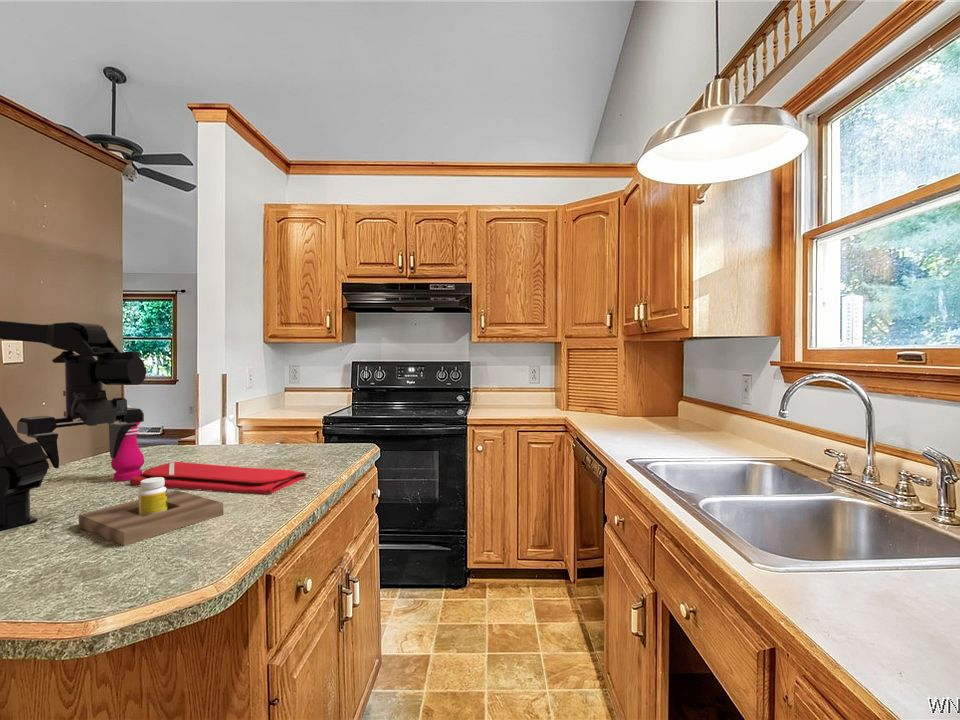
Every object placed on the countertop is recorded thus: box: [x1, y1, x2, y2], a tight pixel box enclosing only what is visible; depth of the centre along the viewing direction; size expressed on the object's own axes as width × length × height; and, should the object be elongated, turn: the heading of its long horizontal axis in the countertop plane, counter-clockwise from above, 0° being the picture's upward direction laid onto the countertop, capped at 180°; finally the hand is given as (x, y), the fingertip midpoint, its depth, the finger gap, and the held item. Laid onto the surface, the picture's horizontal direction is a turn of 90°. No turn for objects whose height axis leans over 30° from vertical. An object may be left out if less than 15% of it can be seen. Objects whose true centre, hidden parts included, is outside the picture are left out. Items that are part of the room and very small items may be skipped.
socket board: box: [78, 489, 224, 547], centre depth 94 cm, size 18×18×2 cm
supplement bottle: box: [137, 477, 168, 517], centre depth 94 cm, size 5×5×8 cm
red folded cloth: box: [129, 461, 307, 495], centre depth 122 cm, size 16×41×4 cm, turn 79°
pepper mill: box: [110, 404, 145, 482], centre depth 125 cm, size 7×7×20 cm
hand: (85, 462), depth 93 cm, fingers open, 9 cm apart
